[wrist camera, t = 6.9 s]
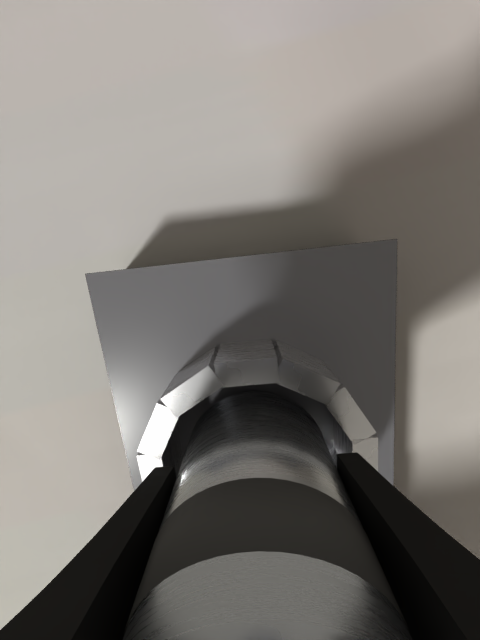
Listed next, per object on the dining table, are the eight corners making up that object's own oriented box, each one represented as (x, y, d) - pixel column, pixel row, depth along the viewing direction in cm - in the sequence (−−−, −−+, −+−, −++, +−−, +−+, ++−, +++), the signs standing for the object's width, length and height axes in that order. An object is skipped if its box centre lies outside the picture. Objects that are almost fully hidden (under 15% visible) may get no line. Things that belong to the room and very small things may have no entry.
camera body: (365, 558, 15) (420, 693, 11) (180, 568, 16) (150, 701, 11) (361, 245, 12) (443, 230, 7) (121, 271, 12) (38, 276, 7)
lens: (333, 500, 10) (456, 841, 4) (205, 518, 10) (148, 855, 4) (314, 379, 9) (443, 597, 3) (173, 403, 9) (45, 642, 3)
